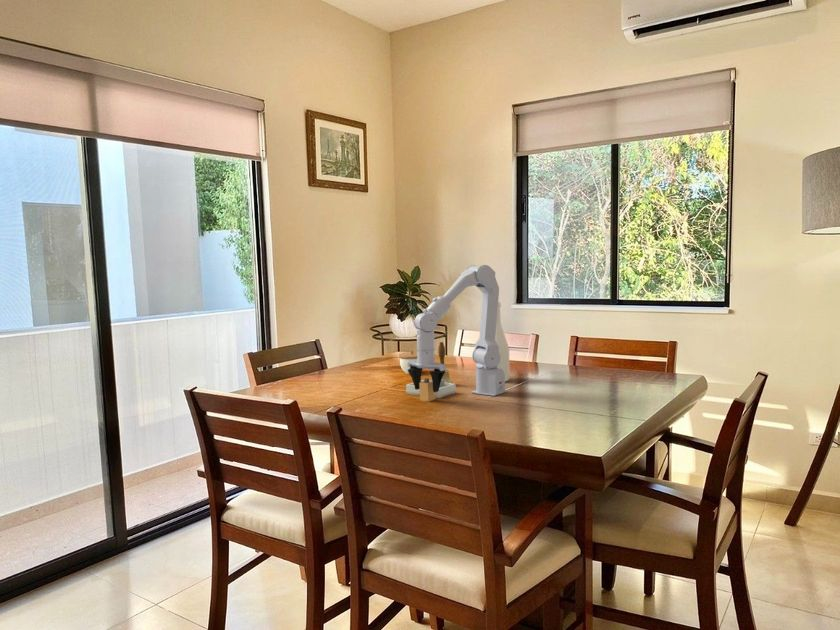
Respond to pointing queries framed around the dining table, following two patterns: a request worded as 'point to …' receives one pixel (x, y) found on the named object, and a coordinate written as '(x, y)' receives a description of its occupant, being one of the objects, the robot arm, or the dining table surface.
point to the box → (443, 391)
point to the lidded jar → (405, 358)
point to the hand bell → (441, 354)
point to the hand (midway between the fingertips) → (426, 390)
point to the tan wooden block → (426, 390)
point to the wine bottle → (502, 347)
